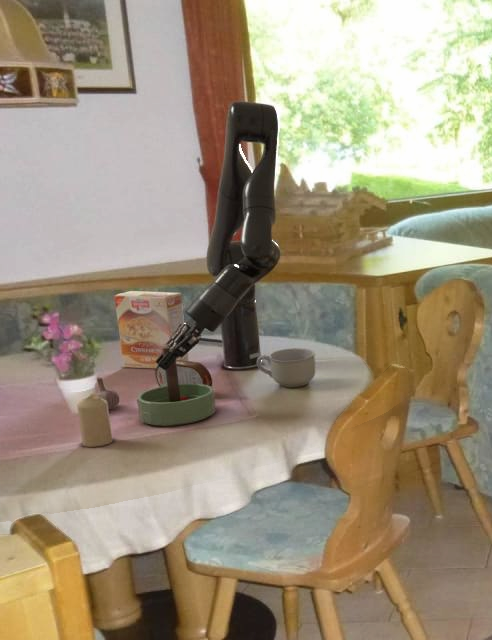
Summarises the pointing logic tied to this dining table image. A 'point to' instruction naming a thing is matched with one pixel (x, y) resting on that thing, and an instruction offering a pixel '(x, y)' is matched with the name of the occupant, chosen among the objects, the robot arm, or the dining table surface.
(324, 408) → the dining table surface
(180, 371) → the tin
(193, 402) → the bowl
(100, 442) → the candle
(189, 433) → the dining table surface
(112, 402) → the garlic bulb
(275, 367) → the teacup
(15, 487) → the dining table surface
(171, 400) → the muddler
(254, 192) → the robot arm
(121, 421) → the dining table surface
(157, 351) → the coffeecake box
